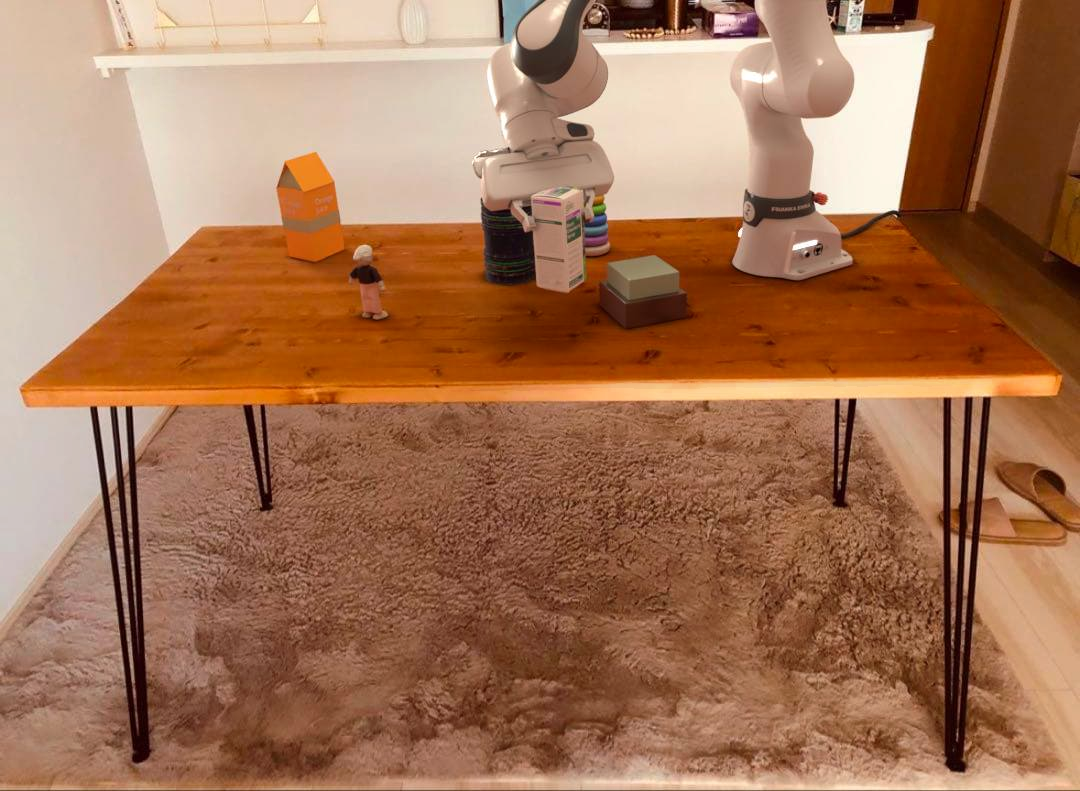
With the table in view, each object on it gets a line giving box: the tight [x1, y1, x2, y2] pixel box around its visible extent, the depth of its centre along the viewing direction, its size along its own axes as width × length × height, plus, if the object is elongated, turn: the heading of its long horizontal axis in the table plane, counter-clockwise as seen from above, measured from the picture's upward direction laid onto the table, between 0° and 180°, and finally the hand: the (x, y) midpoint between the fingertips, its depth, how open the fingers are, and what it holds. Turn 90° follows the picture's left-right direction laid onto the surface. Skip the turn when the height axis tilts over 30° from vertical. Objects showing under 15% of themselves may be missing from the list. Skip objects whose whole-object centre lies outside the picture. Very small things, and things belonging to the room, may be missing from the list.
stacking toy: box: [584, 195, 611, 257], centre depth 168 cm, size 8×8×19 cm
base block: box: [598, 279, 688, 330], centre depth 143 cm, size 11×11×4 cm
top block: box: [606, 254, 680, 300], centre depth 142 cm, size 9×9×4 cm
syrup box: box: [531, 186, 587, 294], centre depth 126 cm, size 6×6×14 cm
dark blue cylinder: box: [480, 196, 536, 285], centre depth 158 cm, size 10×10×15 cm
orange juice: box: [275, 151, 345, 263], centre depth 173 cm, size 8×9×20 cm
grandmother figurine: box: [348, 244, 389, 320], centre depth 144 cm, size 8×4×13 cm, turn 71°
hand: (560, 225), depth 125 cm, fingers closed on syrup box, 8 cm apart
